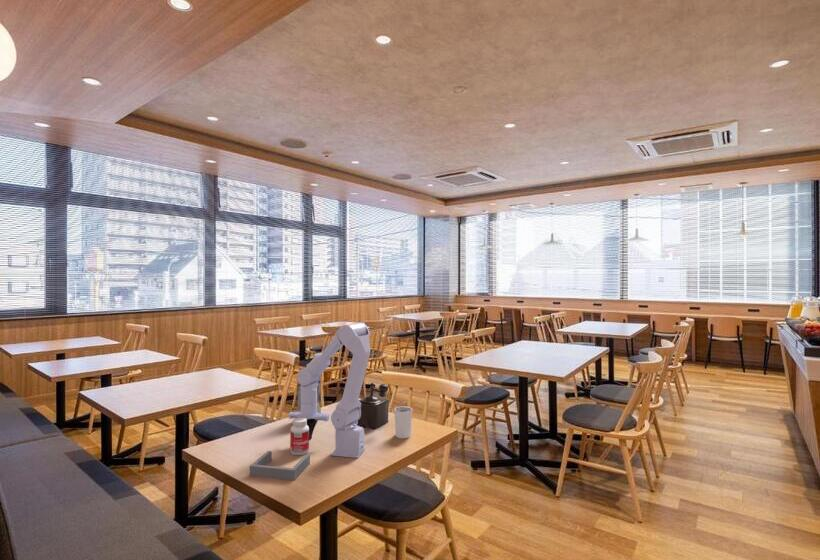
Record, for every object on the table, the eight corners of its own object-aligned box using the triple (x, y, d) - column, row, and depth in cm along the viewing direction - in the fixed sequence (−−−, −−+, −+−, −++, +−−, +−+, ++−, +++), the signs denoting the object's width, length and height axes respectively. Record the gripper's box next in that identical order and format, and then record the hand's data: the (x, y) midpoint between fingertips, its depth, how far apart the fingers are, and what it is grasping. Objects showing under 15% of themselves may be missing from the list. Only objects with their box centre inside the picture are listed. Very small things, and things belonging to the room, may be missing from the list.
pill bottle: (291, 457, 145) (292, 423, 145) (288, 450, 150) (288, 418, 150) (310, 454, 147) (310, 421, 147) (306, 447, 153) (307, 415, 153)
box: (309, 464, 140) (310, 454, 140) (294, 480, 129) (294, 470, 129) (268, 460, 142) (268, 450, 142) (249, 475, 131) (249, 465, 131)
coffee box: (306, 416, 185) (307, 378, 185) (321, 417, 184) (321, 379, 184) (297, 423, 176) (297, 384, 176) (311, 425, 175) (312, 385, 175)
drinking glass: (408, 440, 160) (408, 412, 160) (391, 437, 163) (391, 410, 163) (414, 433, 167) (414, 407, 166) (398, 431, 169) (398, 405, 169)
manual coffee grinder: (352, 425, 175) (352, 380, 175) (368, 417, 185) (368, 375, 184) (384, 433, 167) (384, 386, 167) (399, 424, 177) (400, 380, 176)
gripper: (332, 399, 159) (332, 437, 159) (294, 397, 161) (294, 433, 162) (325, 405, 152) (324, 444, 152) (286, 402, 154) (285, 441, 155)
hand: (308, 439), depth 156 cm, fingers closed
